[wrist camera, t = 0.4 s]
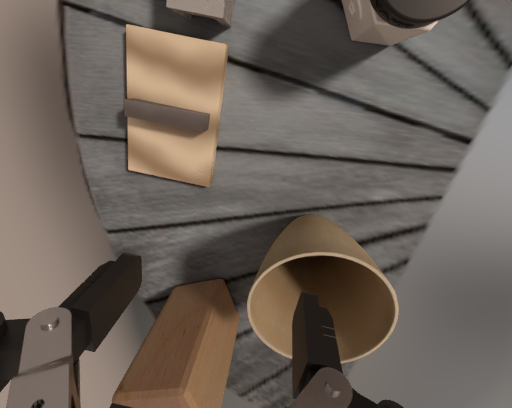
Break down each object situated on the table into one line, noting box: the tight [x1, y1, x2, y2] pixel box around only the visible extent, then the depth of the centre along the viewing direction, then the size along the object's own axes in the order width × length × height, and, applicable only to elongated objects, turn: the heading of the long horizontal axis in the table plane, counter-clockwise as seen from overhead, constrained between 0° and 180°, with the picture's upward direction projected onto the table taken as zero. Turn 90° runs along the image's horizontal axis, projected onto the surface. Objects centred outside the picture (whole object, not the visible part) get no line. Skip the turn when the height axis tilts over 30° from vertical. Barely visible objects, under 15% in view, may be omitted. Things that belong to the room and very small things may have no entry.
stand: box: [124, 24, 229, 187], centre depth 34 cm, size 18×12×4 cm, turn 169°
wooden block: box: [112, 279, 239, 408], centre depth 40 cm, size 10×10×20 cm
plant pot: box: [247, 214, 399, 363], centre depth 34 cm, size 15×15×16 cm
